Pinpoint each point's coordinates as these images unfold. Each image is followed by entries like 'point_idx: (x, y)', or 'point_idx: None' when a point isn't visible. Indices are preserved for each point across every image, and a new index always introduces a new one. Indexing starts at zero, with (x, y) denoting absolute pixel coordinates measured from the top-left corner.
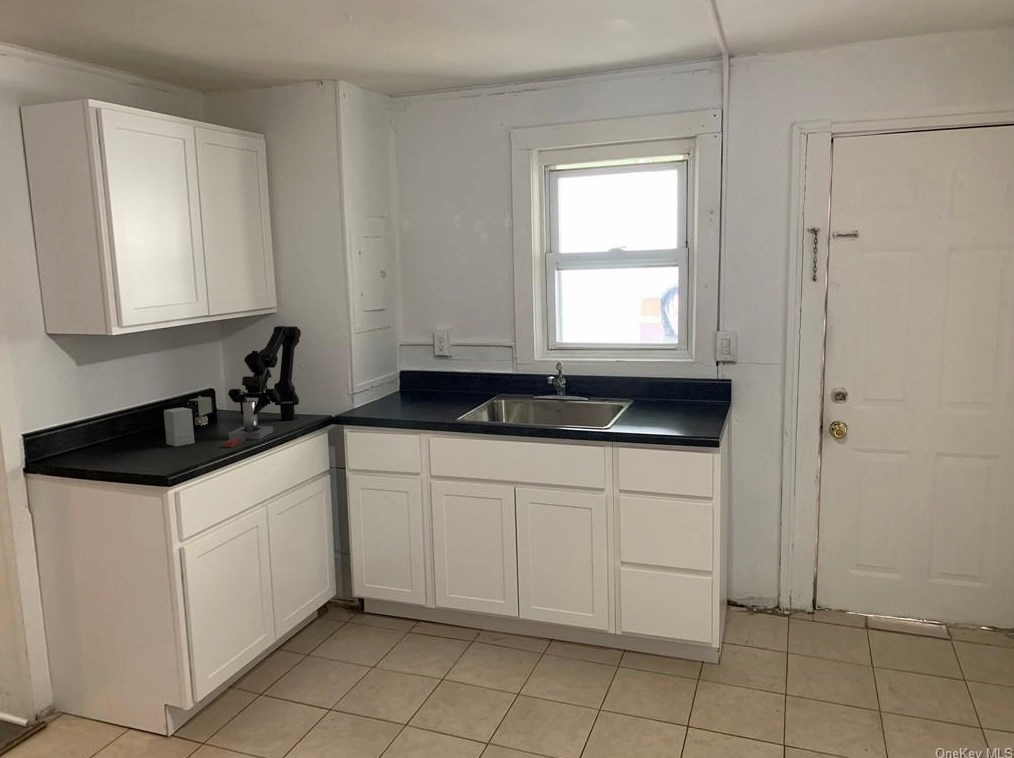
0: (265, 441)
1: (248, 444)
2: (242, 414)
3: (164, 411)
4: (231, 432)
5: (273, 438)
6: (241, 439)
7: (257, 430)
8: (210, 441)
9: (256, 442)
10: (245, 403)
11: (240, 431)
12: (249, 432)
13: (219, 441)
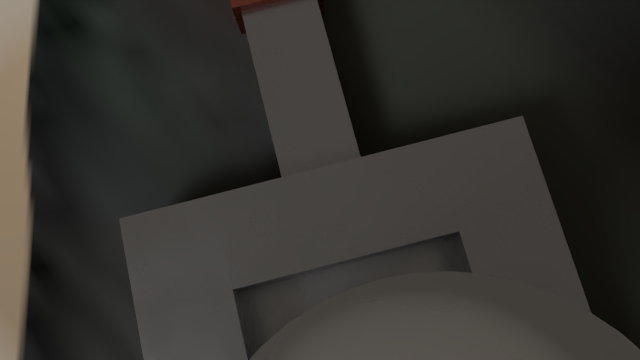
0: (33, 165)
1: (128, 8)
2: None
3: None
4: (498, 142)
5: (28, 320)
6: (249, 45)
7: (238, 340)
8: (622, 14)
9: (101, 101)
10: (416, 276)
11: (426, 224)
12: (263, 202)
13: (526, 39)
